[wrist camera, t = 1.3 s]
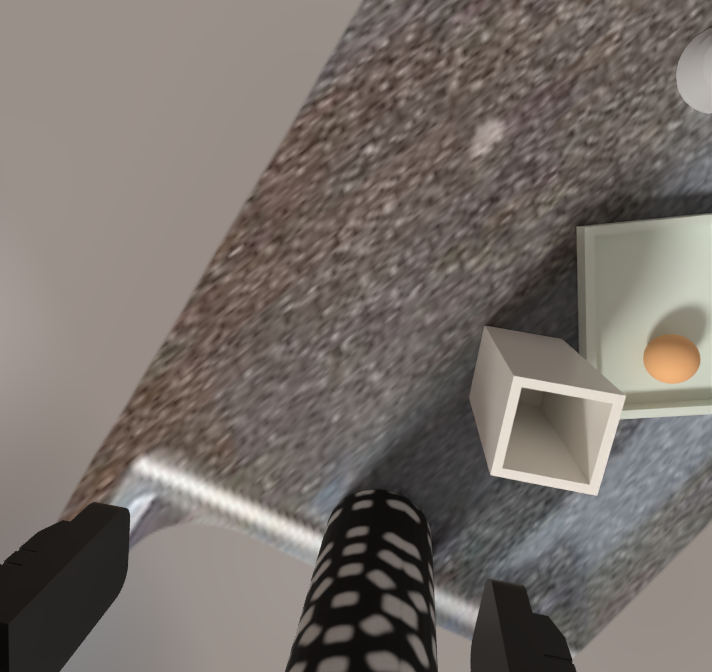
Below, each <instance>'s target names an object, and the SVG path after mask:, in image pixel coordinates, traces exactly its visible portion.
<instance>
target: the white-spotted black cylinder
mask: <svg viewBox="0 0 712 672" xmlns="http://www.w3.org/2000/svg"><path fill="white" fill-rule="evenodd" d="M285 672H438V667H437V645H436V622H435V600H434V577H433V555H432V537H431V530H430V527H429V524H428V521H427V519H426V518H425V516H424V514H423V513H422V511H421V510H420V509H419V508H418V507H417V506H416V505H415V504H414V503H413V502H411V501H410V500H408V499H407V498H405V497H403V496H401V495H399V494H397V493H394V492H390V491H386V490H365V491H362V492H358V493H355V494H353V495H351V496H349V497H347V498H345V499H344V500H343V501H342V502H340V503H339V504H338V505H337V507H336V508H335V509H334V510H333V512H332V514H331V516H330V518H329V520H328V523H327V527H326V530H325V534H324V537H323V541H322V544H321V548H320V551H319V555H318V558H317V562H316V565H315V569H314V572H313V576H312V579H311V583H310V586H309V590H308V593H307V597H306V600H305V604H304V607H303V611H302V614H301V618H300V622H299V625H298V628H297V632H296V636H295V639H294V642H293V646H292V649H291V653H290V656H289V660H288V663H287V667H286V670H285Z"/></svg>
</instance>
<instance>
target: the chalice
mask: <svg viewBox="0 0 712 672" xmlns="http://www.w3.org/2000/svg"><path fill="white" fill-rule="evenodd" d="M676 79H677V87H678V90H679V92H680V94H681V96H682V98H683V100H684V101H685V102H686V103H687V104H689V105H690V106H691V107H692V108H693V109H695V110H698V111H700V112H703V113H708V114H712V28H709V29H707V30H705V31H704V32H702V33H701V34H699V35H697V36H696V37H695V38H694V39H693V40H692V41H691V42H690V43H689V44H688V46H687V47H686V48H685V49H684V51H683V53H682V55H681V57H680V59H679V62H678V67H677V73H676Z"/></svg>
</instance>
